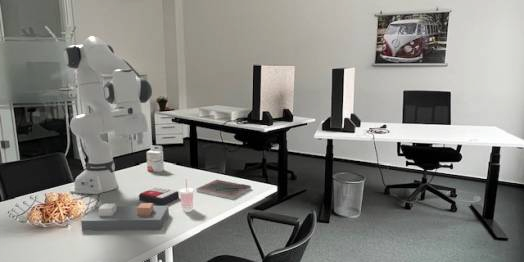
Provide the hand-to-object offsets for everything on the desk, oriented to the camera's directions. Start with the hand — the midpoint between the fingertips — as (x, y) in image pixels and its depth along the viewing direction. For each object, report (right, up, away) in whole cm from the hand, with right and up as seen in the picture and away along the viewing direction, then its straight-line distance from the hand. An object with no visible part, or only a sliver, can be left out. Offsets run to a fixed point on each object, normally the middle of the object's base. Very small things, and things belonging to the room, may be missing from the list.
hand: (134, 145), depth 145 cm
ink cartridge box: (-14, -18, +76) cm, 79 cm away
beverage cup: (+17, -29, +18) cm, 38 cm away
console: (-5, -31, +5) cm, 32 cm away
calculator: (+1, -27, +30) cm, 41 cm away
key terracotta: (+3, -28, +5) cm, 29 cm away
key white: (-12, -28, +4) cm, 31 cm away
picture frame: (+30, -25, +42) cm, 57 cm away
